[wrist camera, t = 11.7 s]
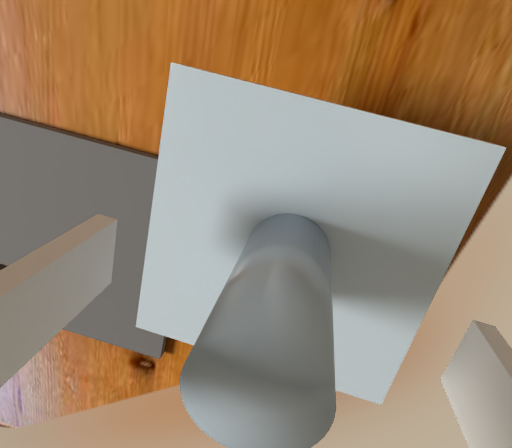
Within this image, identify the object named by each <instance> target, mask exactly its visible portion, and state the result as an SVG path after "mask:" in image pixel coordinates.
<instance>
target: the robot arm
mask: <svg viewBox="0 0 512 448" xmlns="http://www.w3.org/2000/svg"><path fill="white" fill-rule="evenodd" d="M116 229H117V219H114V218H111V217H107V216H104V215H100V214H97V215H95V216H93V217H92V218H90V219H88V220H87V221H85V222H83V223H81V224H80V225H78V226H76V227H74V228H73V229H71V230H69V231H68V232H66V233H64V234H62V235H61V236H59V237H57V238H55V239H54V240H52V241H50V242H49V243H47V244H45V245H43V246H42V247H40V248H38V249H36V250H35V251H33V252H31V253H29V254H28V255H26V256H24V257H23V258H21V259H19V260H17V261H16V262H14V263H12V264H10V265H9V266H6V265H3V264H0V388H1V387H2V386H3V385H4V384H5V383H6V382H7V381H8V380H9V379H10V378H11V377H12V376H13V375H14V374H15V373H16V372H17V371H18V370H20V369H21V368H22V367H23V366H24V365H25V364H26V363H27V362H28V361H29V360H30V359H31V358H32V357H33V356H34V355H35V354H36V353H37V352H39V351H40V350H41V349H42V348H43V347H44V346H45V345H46V344H47V343H48V342H49V341H50V340H51V339H52V338H53V337H54V336H55V335H56V334H57V333H59V332H60V331H61V330H62V329H63V328H64V327H65V326H66V325H67V324H68V323H69V322H70V321H71V320H72V319H73V318H74V317H75V316H76V315H78V314H79V313H80V312H81V311H82V310H83V309H84V308H85V307H86V306H87V305H88V304H89V303H90V302H91V301H92V300H93V299H94V298H95V297H97V296H98V295H99V294H100V293H101V292H102V291H103V290H104V289H105V288H106V287H107V286H108V285H109V284H110V283H111V281H112V270H113V260H114V250H115V240H116ZM440 380H441V382H442V384H443V387H444V389H445V391H446V394H447V397H448V399H449V401H450V404H451V406H452V408H453V411H454V413H455V416H456V418H457V420H458V423H459V425H460V427H461V430H462V432H463V435H464V437H465V439H466V442H467V444H468V447H469V448H512V349H511V347H510V346H509V345H508V343H507V342H506V341H505V339H504V338H503V336H502V335H501V334H500V332H499V331H498V330H497V328H496V327H495V326H492V325H489V324H485V323H482V322H478V321H474V320H473V321H472V323H471V325H470V326H469V328H468V330H467V332H466V333H465V335H464V337H463V339H462V341H461V343H460V344H459V346H458V348H457V350H456V352H455V353H454V355H453V357H452V359H451V361H450V363H449V364H448V366H447V368H446V370H445V372H444V374H443V376H442V377H441V379H440Z"/></svg>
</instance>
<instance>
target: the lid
mask: <svg viewBox="0 0 512 448" xmlns="http://www.w3.org/2000/svg"><path fill="white" fill-rule="evenodd" d="M505 150H506V147H503V146H500V145H497V144H494V143H490V142H486V141H482V140H478V139H474V138H470V137H467V136H463V135H459V134H455V133H451V132H447V131H443V130H439V129H435V128H431V127H427V126H423V125H419V124H415V123H411V122H408V121H404V120H400V119H396V118H392V117H388V116H384V115H380V114H376V113H372V112H368V111H364V110H360V109H356V108H352V107H348V106H345V105H341V104H337V103H333V102H329V101H325V100H321V99H317V98H313V97H309V96H305V95H301V94H297V93H293V92H289V91H285V90H282V89H278V88H274V87H270V86H266V85H262V84H258V83H254V82H250V81H246V80H242V79H238V78H234V77H230V76H226V75H222V74H219V73H215V72H211V71H207V70H203V69H199V68H195V67H191V66H187V65H183V64H178V63H172V62H171V66H170V74H169V81H168V89H167V96H166V104H165V111H164V119H163V126H162V134H161V141H160V149H159V156H158V164H157V171H156V179H155V186H154V194H153V201H152V209H151V216H150V224H149V231H148V239H147V246H146V254H145V261H144V269H143V276H142V284H141V291H140V299H139V306H138V314H137V321H136V327H137V328H141V329H144V330H147V331H150V332H153V333H156V334H160V335H163V336H166V337H169V338H172V339H175V340H179V341H182V342H185V343H188V344H191V345H194V346H193V348H192V350H191V352H190V354H189V356H188V358H187V360H186V362H185V364H184V366H183V369H182V372H181V377H180V392H181V397H182V400H183V403H184V406H185V408H186V410H187V412H188V414H189V415H190V417H191V418H192V420H193V421H194V422H195V423H196V424H197V426H198V427H199V428H200V429H201V430H202V431H203V432H204V433H206V434H207V435H208V436H209V437H211V438H212V439H213V440H215V441H217V442H218V443H220V444H222V445H223V446H225V447H227V448H311V447H312V446H314V445H315V444H317V443H318V442H319V441H320V440H321V439H322V438H323V437H324V436H325V435H326V434H327V432H328V431H329V429H330V427H331V425H332V423H333V420H334V417H335V412H336V393H335V390H336V391H339V392H343V393H346V394H349V395H352V396H356V397H358V398H361V399H365V400H368V401H371V402H374V403H377V404H380V405H381V404H382V402H383V400H384V398H385V396H386V394H387V392H388V390H389V388H390V386H391V384H392V382H393V380H394V378H395V376H396V373H397V371H398V369H399V367H400V365H401V363H402V361H403V359H404V357H405V355H406V353H407V351H408V349H409V347H410V345H411V343H412V340H413V338H414V337H415V334H416V332H417V330H418V328H419V326H420V324H421V322H422V320H423V318H424V316H425V314H426V312H427V310H428V308H429V306H430V304H431V302H432V300H433V298H434V295H435V293H436V291H437V289H438V287H439V285H440V283H441V281H442V279H443V277H444V275H445V273H446V271H447V269H448V267H449V265H450V263H451V261H452V259H453V257H454V254H455V252H456V250H457V248H458V246H459V244H460V242H461V240H462V238H463V236H464V234H465V232H466V230H467V228H468V226H469V224H470V222H471V220H472V218H473V215H474V213H475V211H476V209H477V207H478V205H479V203H480V201H481V199H482V197H483V195H484V193H485V191H486V189H487V187H488V185H489V183H490V181H491V179H492V176H493V174H494V172H495V170H496V168H497V166H498V164H499V162H500V160H501V158H502V156H503V154H504V152H505Z"/></svg>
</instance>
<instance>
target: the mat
mask: <svg viewBox="0 0 512 448" xmlns="http://www.w3.org/2000/svg"><path fill="white" fill-rule="evenodd" d="M157 164H158V156H157V155H153V154H149V153H145V152H142V151H138V150H134V149H131V148H127V147H123V146H120V145H116V144H112V143H109V142H105V141H101V140H97V139H94V138H90V137H86V136H83V135H79V134H75V133H72V132H68V131H64V130H61V129H57V128H53V127H50V126H46V125H42V124H38V123H35V122H31V121H27V120H24V119H20V118H16V117H13V116H9V115H5V114H2V113H0V264H3V265H6V266H9V265H10V264H12V263H14V262H16V261H17V260H19V259H21V258H23V257H24V256H26V255H28V254H29V253H31V252H33V251H35V250H36V249H38V248H40V247H42V246H43V245H45V244H47V243H49V242H50V241H52V240H54V239H55V238H57V237H59V236H61V235H62V234H64V233H66V232H68V231H69V230H71V229H73V228H74V227H76V226H78V225H80V224H81V223H83V222H85V221H87V220H88V219H90V218H92V217H93V216H95V215H97V214H100V215H104V216H107V217H111V218H114V219H117V229H116V240H115V250H114V260H113V270H112V281H111V283H110V284H109V285H108V286H107V287H106V288H105V289H104V290H103V291H102V292H101V293H100V294H99V295H98V296H97V297H95V298H94V299H93V300H92V301H91V302H90V303H89V304H88V305H87V306H86V307H85V308H84V309H83V310H82V311H81V312H80V313H79V314H78V315H76V316H75V317H74V318H73V319H72V320H71V321H70V322H69V323H68V324H67V325H66V326H65V327H64V328H63V329H64V330H67V331H70V332H73V333H77V334H80V335H83V336H86V337H90V338H93V339H96V340H99V341H103V342H106V343H109V344H112V345H116V346H119V347H122V348H125V349H129V350H132V351H135V352H138V353H142V354H145V355H148V356H151V357H155V358H158V359H160V358H161V357H162V355H163V353H164V351H165V345H166V339H167V337H166V336H163V335H160V334H156V333H153V332H150V331H147V330H144V329H141V328H137V327H136V321H137V314H138V306H139V299H140V291H141V284H142V276H143V269H144V261H145V254H146V246H147V239H148V231H149V224H150V216H151V209H152V201H153V194H154V186H155V179H156V171H157Z"/></svg>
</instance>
